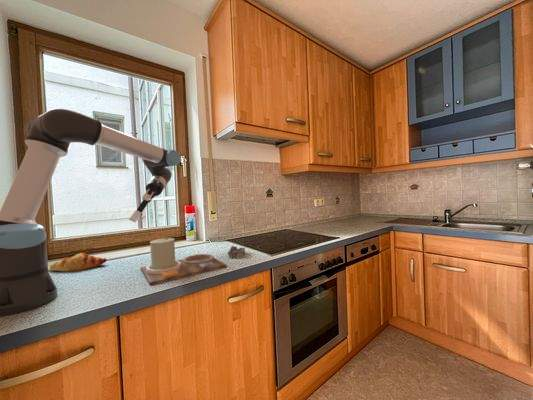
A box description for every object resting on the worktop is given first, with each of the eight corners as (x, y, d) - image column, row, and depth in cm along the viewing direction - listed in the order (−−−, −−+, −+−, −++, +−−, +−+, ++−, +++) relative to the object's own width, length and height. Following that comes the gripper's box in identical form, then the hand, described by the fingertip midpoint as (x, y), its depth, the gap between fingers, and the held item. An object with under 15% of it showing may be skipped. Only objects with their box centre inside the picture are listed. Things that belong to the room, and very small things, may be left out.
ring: (152, 280, 81) (152, 276, 81) (144, 268, 96) (144, 264, 96) (188, 272, 89) (188, 268, 89) (175, 261, 103) (175, 258, 103)
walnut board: (150, 285, 80) (149, 278, 80) (140, 269, 97) (140, 263, 97) (226, 266, 97) (226, 260, 97) (207, 256, 114) (206, 251, 114)
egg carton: (232, 252, 120) (232, 245, 120) (246, 253, 119) (246, 245, 119) (226, 258, 110) (225, 250, 110) (241, 258, 109) (241, 250, 109)
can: (179, 264, 99) (177, 236, 99) (170, 271, 90) (169, 241, 89) (157, 265, 99) (156, 237, 99) (146, 272, 90) (145, 242, 89)
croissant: (46, 281, 97) (39, 267, 93) (57, 264, 105) (51, 250, 101) (105, 273, 103) (100, 260, 99) (111, 257, 111) (107, 244, 107)
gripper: (174, 172, 113) (159, 194, 95) (152, 206, 123) (135, 232, 105) (159, 163, 111) (141, 184, 93) (138, 199, 120) (118, 224, 102)
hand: (138, 210), depth 99 cm, fingers open, 13 cm apart
